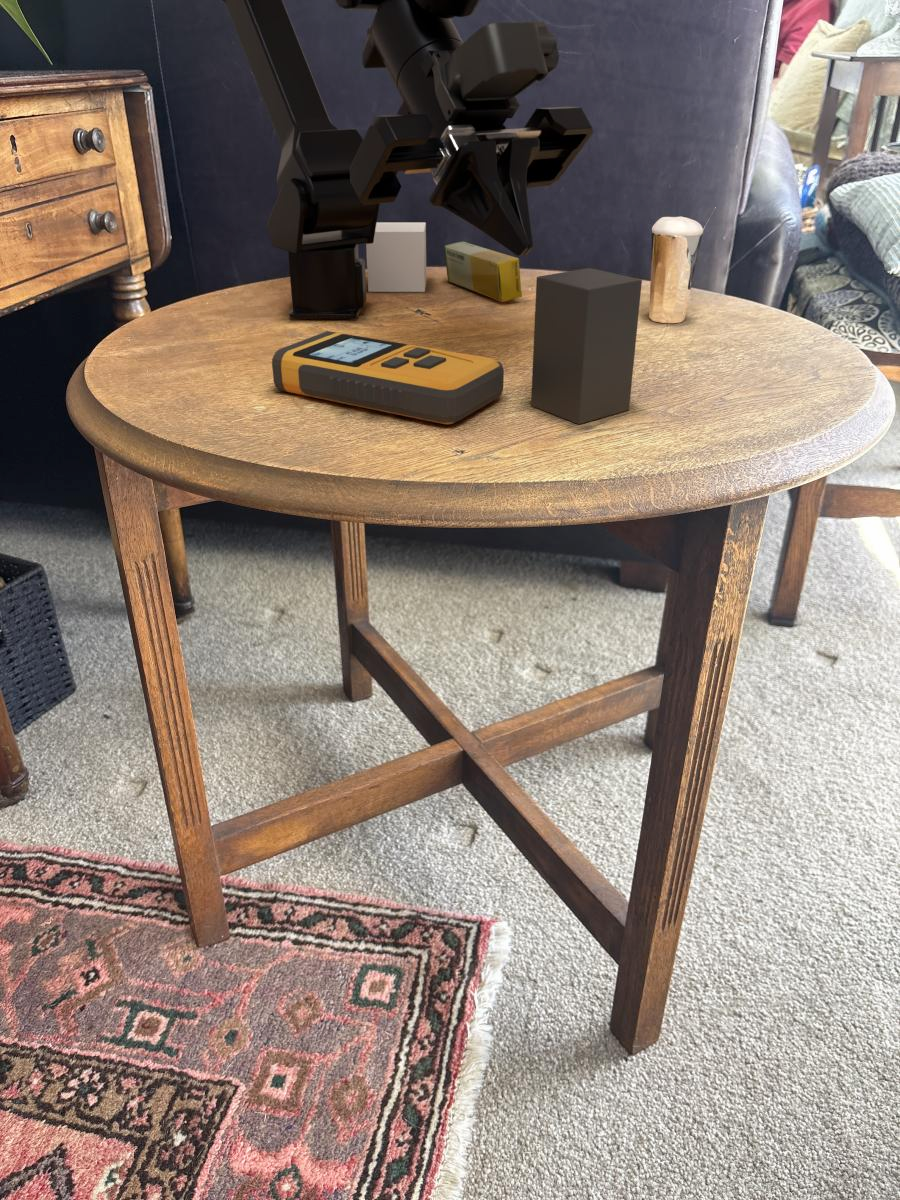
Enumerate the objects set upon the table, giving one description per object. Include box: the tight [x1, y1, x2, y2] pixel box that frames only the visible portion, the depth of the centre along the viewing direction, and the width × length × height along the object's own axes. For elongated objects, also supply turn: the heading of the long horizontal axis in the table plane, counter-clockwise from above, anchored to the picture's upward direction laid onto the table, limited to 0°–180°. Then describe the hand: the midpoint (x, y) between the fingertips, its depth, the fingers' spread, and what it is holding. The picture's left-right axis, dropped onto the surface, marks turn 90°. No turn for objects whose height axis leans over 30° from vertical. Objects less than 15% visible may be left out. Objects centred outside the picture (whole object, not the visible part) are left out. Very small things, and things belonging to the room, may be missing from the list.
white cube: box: [365, 221, 427, 293], centre depth 100 cm, size 6×6×6 cm
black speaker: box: [530, 267, 643, 425], centre depth 65 cm, size 5×5×9 cm
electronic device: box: [271, 330, 505, 425], centre depth 69 cm, size 8×16×3 cm, turn 59°
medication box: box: [443, 240, 523, 303], centre depth 98 cm, size 12×3×4 cm, turn 27°
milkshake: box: [648, 207, 716, 324], centre depth 86 cm, size 5×5×10 cm
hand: (526, 251), depth 67 cm, fingers closed
